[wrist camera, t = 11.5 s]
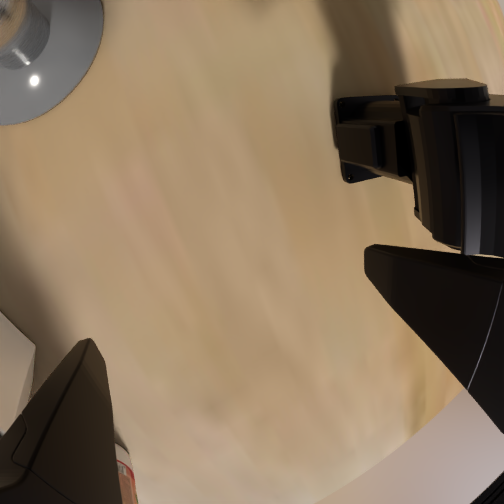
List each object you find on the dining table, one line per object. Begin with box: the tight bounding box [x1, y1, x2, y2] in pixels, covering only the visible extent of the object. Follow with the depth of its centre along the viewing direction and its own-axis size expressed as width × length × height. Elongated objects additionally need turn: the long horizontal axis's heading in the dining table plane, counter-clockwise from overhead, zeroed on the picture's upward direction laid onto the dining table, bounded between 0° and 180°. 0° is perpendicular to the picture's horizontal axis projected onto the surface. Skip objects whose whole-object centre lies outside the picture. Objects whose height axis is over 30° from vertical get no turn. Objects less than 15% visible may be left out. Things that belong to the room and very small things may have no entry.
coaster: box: [0, 0, 104, 125], centre depth 12 cm, size 11×11×1 cm
